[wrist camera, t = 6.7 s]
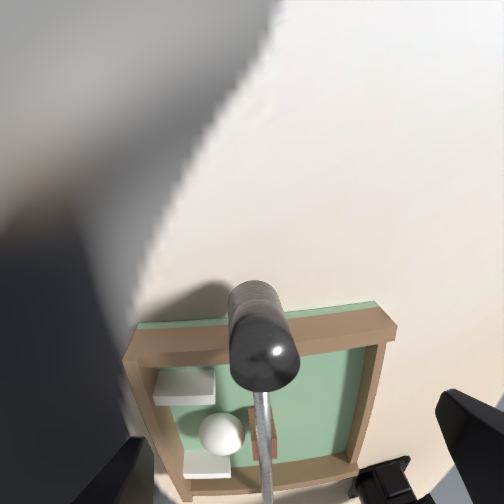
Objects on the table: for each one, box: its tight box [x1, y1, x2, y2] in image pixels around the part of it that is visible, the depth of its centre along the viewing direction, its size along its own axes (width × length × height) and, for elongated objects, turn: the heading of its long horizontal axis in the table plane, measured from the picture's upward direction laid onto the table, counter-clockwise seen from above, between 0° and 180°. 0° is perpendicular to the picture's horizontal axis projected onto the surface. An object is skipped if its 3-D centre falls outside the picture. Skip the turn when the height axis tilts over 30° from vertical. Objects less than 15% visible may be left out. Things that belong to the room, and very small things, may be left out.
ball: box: [199, 412, 246, 456], centre depth 19 cm, size 3×3×3 cm
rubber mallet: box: [228, 280, 300, 504], centre depth 17 cm, size 20×3×6 cm, turn 3°
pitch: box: [122, 301, 397, 502], centre depth 19 cm, size 16×15×4 cm
